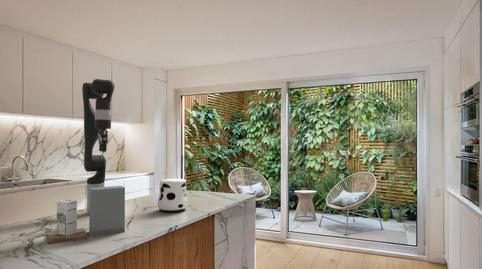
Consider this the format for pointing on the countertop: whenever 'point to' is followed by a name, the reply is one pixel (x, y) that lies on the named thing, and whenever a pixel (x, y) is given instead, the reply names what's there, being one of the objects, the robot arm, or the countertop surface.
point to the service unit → (107, 210)
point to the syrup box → (66, 217)
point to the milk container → (172, 195)
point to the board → (60, 238)
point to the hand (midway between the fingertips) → (102, 151)
